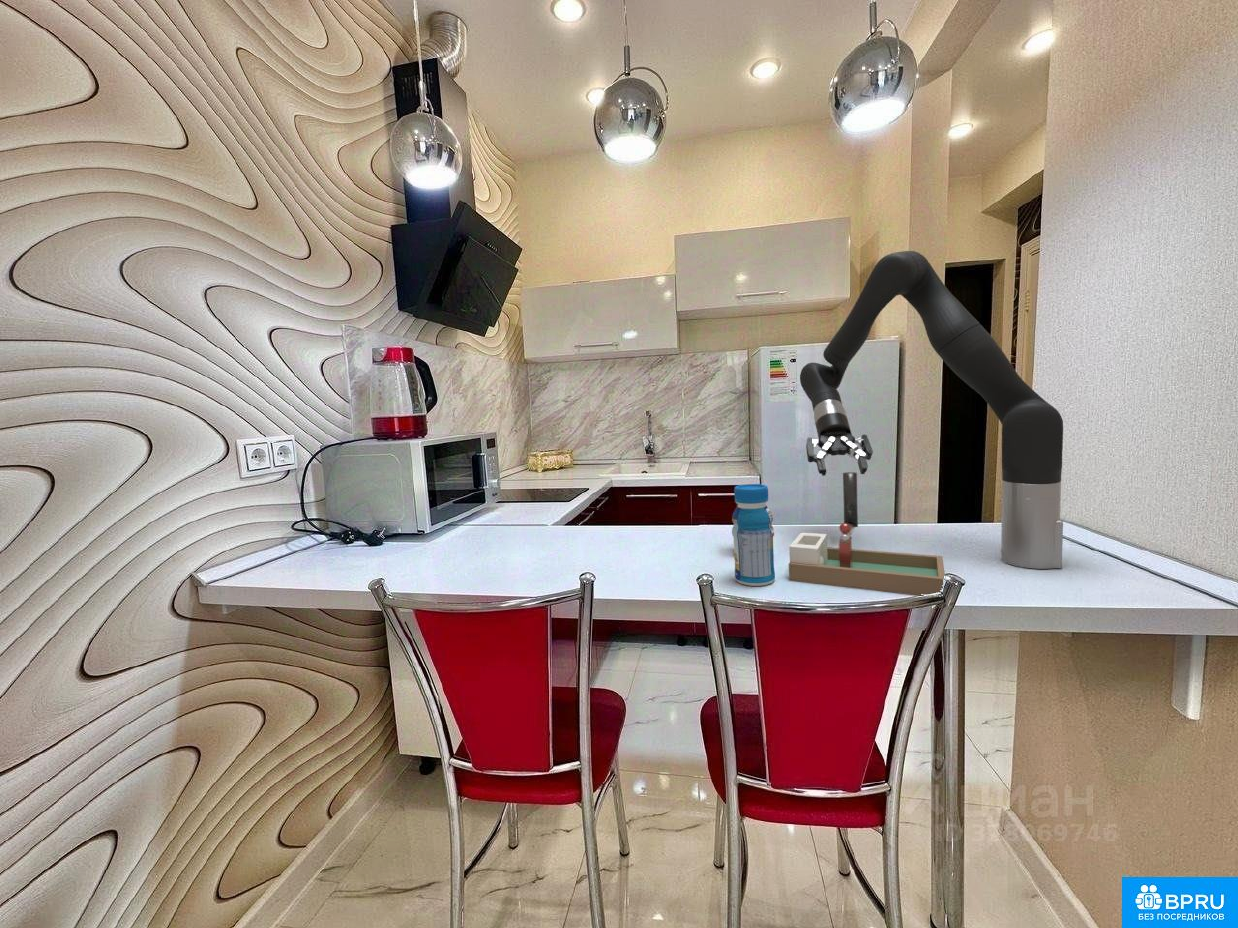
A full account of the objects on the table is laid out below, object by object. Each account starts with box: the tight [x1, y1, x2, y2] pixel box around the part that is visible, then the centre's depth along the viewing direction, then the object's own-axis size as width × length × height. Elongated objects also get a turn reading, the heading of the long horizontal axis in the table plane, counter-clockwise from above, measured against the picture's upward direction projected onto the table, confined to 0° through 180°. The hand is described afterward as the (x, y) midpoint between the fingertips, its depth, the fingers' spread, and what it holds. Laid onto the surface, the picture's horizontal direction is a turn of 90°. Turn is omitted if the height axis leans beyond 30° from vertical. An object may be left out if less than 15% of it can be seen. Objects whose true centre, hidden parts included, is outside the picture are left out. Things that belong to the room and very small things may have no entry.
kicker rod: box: [838, 471, 859, 568], centre depth 105 cm, size 3×13×19 cm, turn 149°
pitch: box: [788, 532, 946, 596], centre depth 100 cm, size 27×14×7 cm, turn 59°
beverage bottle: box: [731, 483, 776, 587], centre depth 102 cm, size 8×8×20 cm
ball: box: [820, 555, 824, 565], centre depth 105 cm, size 4×4×4 cm
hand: (843, 472), depth 114 cm, fingers open, 8 cm apart
